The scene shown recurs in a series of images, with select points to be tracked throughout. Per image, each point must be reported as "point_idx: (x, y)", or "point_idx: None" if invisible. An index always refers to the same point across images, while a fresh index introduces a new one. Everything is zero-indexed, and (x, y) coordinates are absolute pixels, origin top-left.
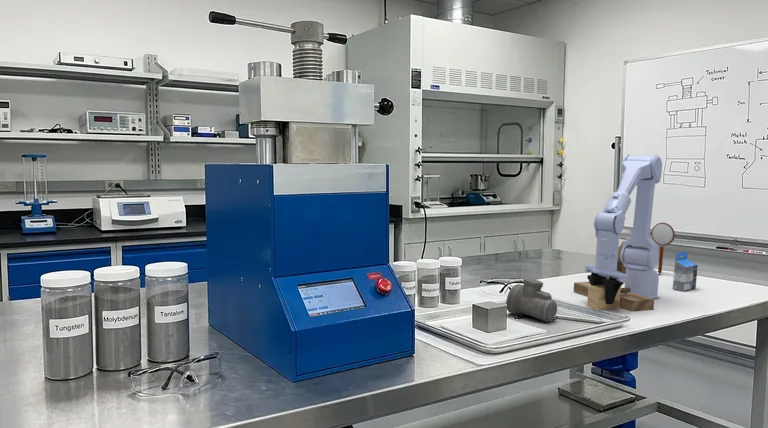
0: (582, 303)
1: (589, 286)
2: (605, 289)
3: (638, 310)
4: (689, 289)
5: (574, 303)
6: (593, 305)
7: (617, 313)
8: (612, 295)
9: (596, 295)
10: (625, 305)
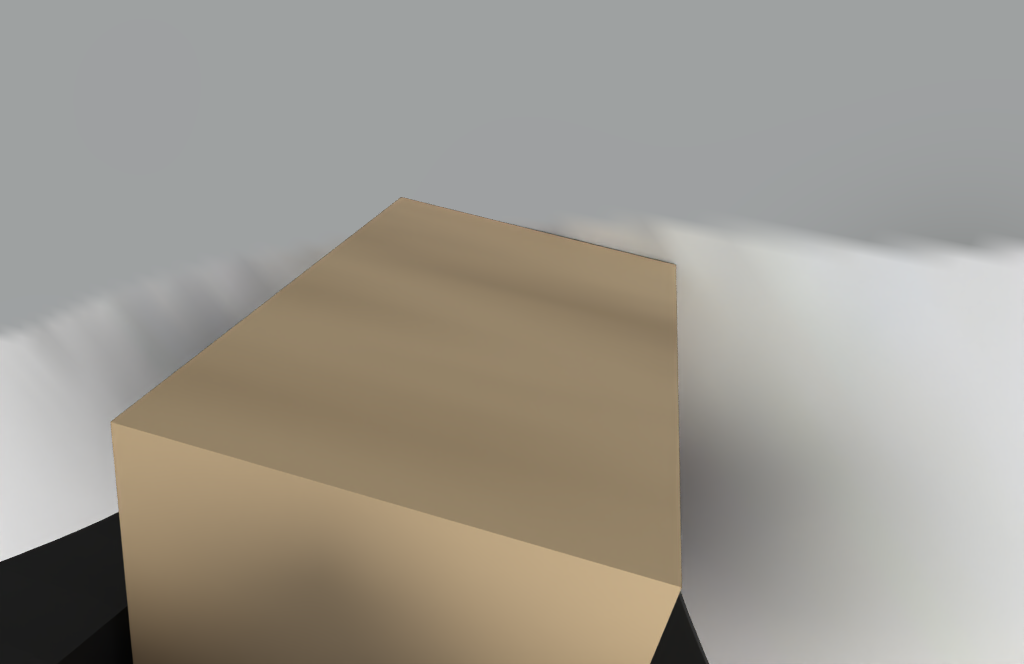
0: (883, 404)
1: (618, 559)
2: (111, 606)
3: None
4: None
5: (1011, 261)
6: (485, 240)
7: (144, 319)
8: None
9: (317, 322)
10: None
